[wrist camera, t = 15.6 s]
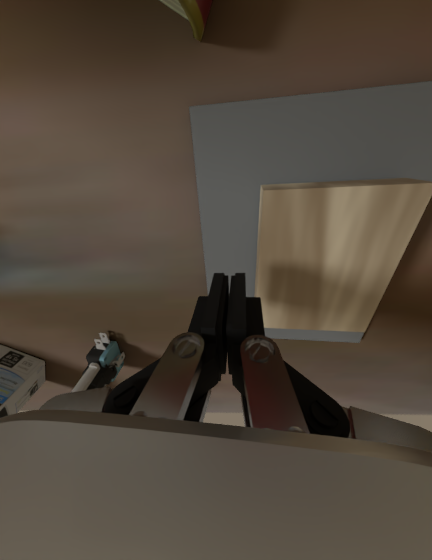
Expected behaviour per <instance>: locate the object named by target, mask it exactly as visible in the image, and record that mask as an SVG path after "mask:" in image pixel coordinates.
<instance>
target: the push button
mask: <svg viewBox="0 0 432 560" xmlns="http://www.w3.org/2000/svg"><path fill="white" fill-rule="evenodd" d="M99 334H100V337H101V339H94V340H95V343H96V345H95V346H94V347H93V348H92V349H91V350H90V352H89V353H88V354H87V356H86V359H87V361H88V366H87V368H86V369H85V370H84V372H83V374H82V375H83V376H82V377H81V379H80V380H79V382H78V383H77V384H76V386H75V387H74V388H73V390H72V391H71V392H78V391H84V390H90V389H96V388H102V387H105V386H106V384H109V383H110V382H113V381H114V380H115V378H116V376H117V375H118V373H119V371H120V369H121V368H122V366H123V364H124V362H123V360H124V358H125V354H124V352H122V354H121V353H120V350H119V347H118V344H117V342H116V341H110V340H108V338H107V335H106V333H99ZM102 335H104V336H105V337H103V336H102ZM98 342H100V343H98ZM122 356H123V358H122Z"/></svg>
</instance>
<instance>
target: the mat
mask: <svg viewBox="0 0 432 560" xmlns="http://www.w3.org/2000/svg"><path fill="white" fill-rule="evenodd" d="M189 111H190V121H191V131H192V141H193V151H194V160H195V170H196V180H197V190H198V200H199V210H200V220H201V230H202V240H203V250H204V260H205V270H206V280H207V289H208V295H209V291H210V287H211V283H212V279H213V275H214V273H224V274H225V275H228V280H229V293H230V283H231V275H235V273H245V276H246V297H254V295H255V277H256V259H257V241H258V223H259V206H260V188H261V185H269V184H289V183H310V182H330V181H351V180H371V179H392V178H411V179H417V180H424V181H430V182H432V81H428V82H418V83H409V84H399V85H390V86H380V87H371V88H361V89H352V90H342V91H333V92H323V93H314V94H304V95H295V96H285V97H276V98H266V99H257V100H247V101H238V102H228V103H219V104H209V105H200V106H190V107H189ZM264 331H265V336H266V337H268V338H277V339H297V340H316V341H335V342H354V343H359V342H360V340H361V338H362V336H363V334H364V332H347V331H325V330H303V329H281V328H264Z"/></svg>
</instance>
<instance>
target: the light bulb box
mask: <svg viewBox="0 0 432 560" xmlns="http://www.w3.org/2000/svg"><path fill="white" fill-rule="evenodd" d="M44 382H45V361H44V360H41V359H38V358H35V357H33V356H30V355H27V354H25V353H22V352H19V351H17V350H14V349H11V348H9V347H6V346H3V345H1V344H0V418H1V417H5V416H8V415H12V414H16V413H18V412H19V410H20V409H21V408H22V407H23V406H24V405H25V404H26V402H27V401H28V400H29V399H30V398H31V397H32V396H33V394H34V393H35V392H36V391H37V390H38V389H39V388H40V387H41V385H42V384H43V383H44Z"/></svg>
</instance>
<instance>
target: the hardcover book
mask: <svg viewBox="0 0 432 560" xmlns="http://www.w3.org/2000/svg"><path fill="white" fill-rule="evenodd" d="M159 1H161V2H162V3H163V4H165V5H166V6H168V7H169V8H171V9H172V10H174V11H175V12H177V13H178V14H180V15H181V16H182V17H184V18H185V19H187V20H188V21H189V22H190V24H191V27H192V30H193V36H194V38H195V39H197V40H198V41H200V42H201V39H202V36H203V32H204V29H205V25H206V22H207V19H208V15H209V12H210V8H211V5H212V1H213V0H159Z"/></svg>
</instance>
